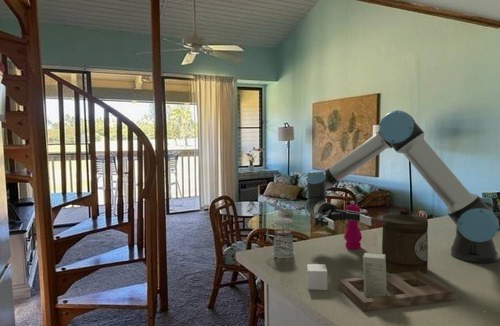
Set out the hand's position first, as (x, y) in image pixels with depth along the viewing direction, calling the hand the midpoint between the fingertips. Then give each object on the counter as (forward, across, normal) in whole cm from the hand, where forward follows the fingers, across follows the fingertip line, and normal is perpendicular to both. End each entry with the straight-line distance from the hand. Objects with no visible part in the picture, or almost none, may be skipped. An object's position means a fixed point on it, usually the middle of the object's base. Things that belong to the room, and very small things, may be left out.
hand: (352, 223), depth 119 cm
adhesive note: (+5, +15, -18) cm, 24 cm away
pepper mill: (-28, -14, -18) cm, 36 cm away
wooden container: (-1, -20, -18) cm, 27 cm away
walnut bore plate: (+16, -5, -18) cm, 25 cm away
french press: (-27, +18, -18) cm, 37 cm away
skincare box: (+16, +1, -18) cm, 24 cm away
